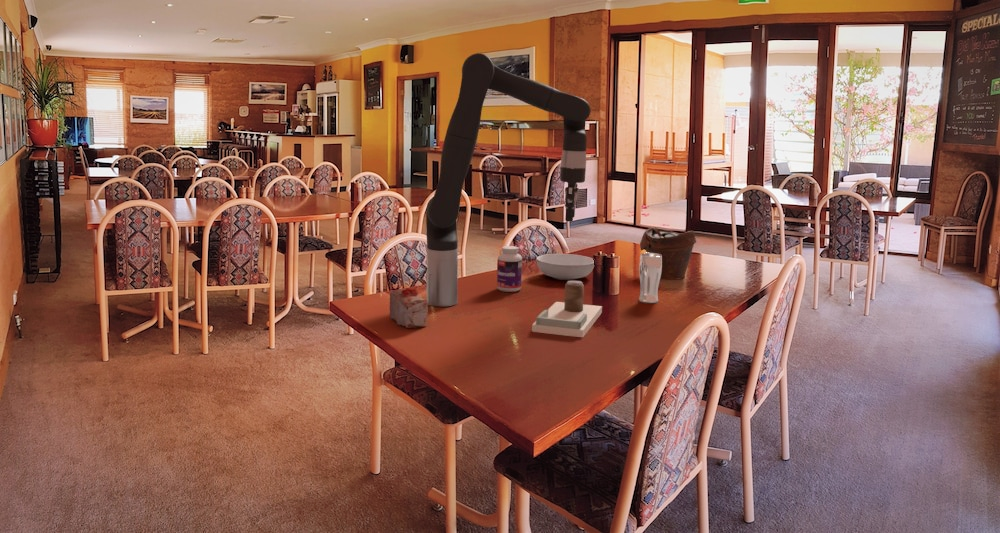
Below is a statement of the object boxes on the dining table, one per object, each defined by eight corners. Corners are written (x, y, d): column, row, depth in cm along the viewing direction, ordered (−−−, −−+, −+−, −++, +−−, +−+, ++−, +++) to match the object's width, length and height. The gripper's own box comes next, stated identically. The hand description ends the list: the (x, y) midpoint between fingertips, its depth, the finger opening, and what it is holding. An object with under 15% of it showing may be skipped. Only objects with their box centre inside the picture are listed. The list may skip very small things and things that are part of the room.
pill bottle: (493, 291, 240) (493, 248, 237) (502, 286, 247) (503, 244, 244) (516, 293, 237) (517, 250, 234) (524, 288, 244) (525, 246, 241)
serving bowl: (578, 287, 248) (579, 267, 247) (525, 278, 259) (525, 259, 257) (603, 276, 265) (604, 257, 264) (552, 268, 276) (553, 251, 275)
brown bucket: (637, 268, 278) (640, 222, 274) (690, 271, 275) (694, 224, 271) (639, 280, 260) (642, 230, 256) (696, 283, 258) (700, 233, 254)
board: (556, 308, 221) (556, 295, 220) (601, 312, 216) (602, 299, 215) (532, 331, 197) (532, 317, 196) (582, 337, 192) (583, 323, 191)
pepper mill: (567, 312, 208) (568, 284, 207) (562, 307, 214) (563, 280, 212) (585, 311, 210) (586, 284, 208) (579, 306, 215) (580, 279, 213)
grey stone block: (431, 327, 199) (431, 292, 197) (405, 332, 195) (404, 296, 193) (410, 315, 210) (410, 282, 208) (384, 319, 206) (384, 285, 204)
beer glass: (661, 299, 233) (664, 253, 229) (656, 304, 226) (659, 257, 223) (640, 297, 235) (643, 251, 232) (634, 302, 229) (637, 255, 226)
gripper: (562, 164, 227) (559, 215, 230) (559, 166, 213) (555, 221, 216) (586, 165, 225) (583, 217, 229) (584, 168, 212) (581, 223, 215)
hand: (569, 219), depth 222 cm, fingers open, 8 cm apart
